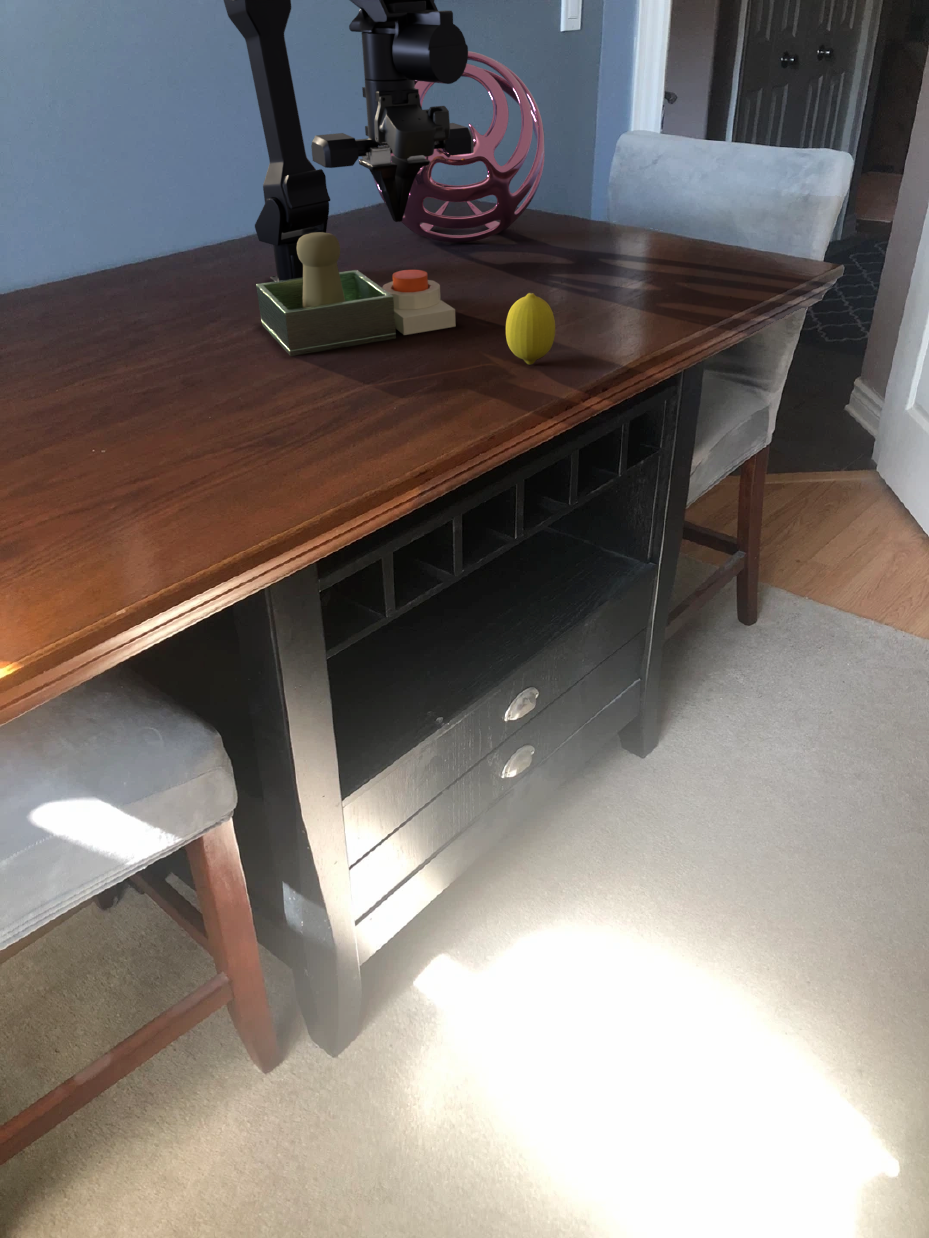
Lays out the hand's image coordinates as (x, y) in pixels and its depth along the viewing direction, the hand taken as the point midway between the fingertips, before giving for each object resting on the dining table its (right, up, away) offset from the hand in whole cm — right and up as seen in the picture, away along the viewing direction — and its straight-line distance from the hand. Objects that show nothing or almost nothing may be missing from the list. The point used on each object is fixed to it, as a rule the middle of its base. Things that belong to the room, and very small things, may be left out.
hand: (397, 221), depth 122 cm
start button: (+1, -7, +4) cm, 8 cm away
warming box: (-9, -13, +2) cm, 16 cm away
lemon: (+16, -20, -10) cm, 27 cm away
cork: (-9, -13, +2) cm, 16 cm away
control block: (+2, -10, +6) cm, 12 cm away
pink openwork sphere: (+7, +14, +41) cm, 44 cm away
